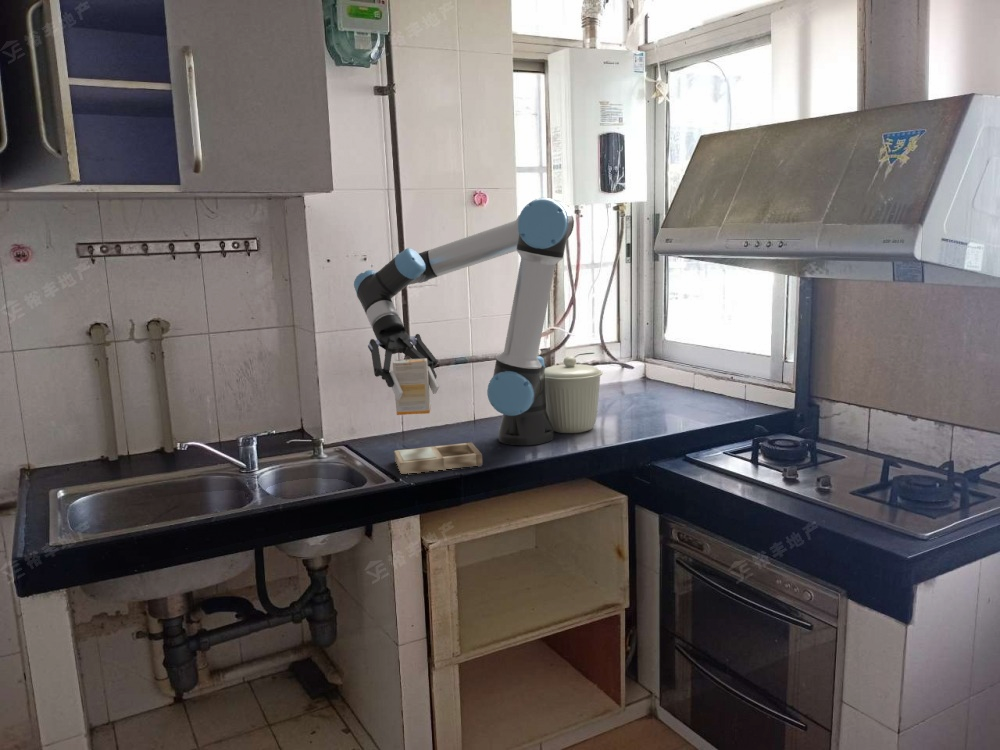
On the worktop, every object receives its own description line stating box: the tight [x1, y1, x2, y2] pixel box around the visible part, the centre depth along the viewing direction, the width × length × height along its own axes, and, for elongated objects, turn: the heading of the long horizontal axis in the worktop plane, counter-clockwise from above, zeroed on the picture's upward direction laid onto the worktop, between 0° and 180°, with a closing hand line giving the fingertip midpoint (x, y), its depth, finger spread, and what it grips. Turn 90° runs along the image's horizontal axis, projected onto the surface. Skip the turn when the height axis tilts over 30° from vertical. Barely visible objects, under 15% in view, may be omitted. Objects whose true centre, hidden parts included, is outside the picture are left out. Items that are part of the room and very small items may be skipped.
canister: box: [545, 355, 603, 434], centre depth 226 cm, size 18×18×21 cm
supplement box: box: [392, 358, 431, 416], centre depth 195 cm, size 8×5×13 cm, turn 91°
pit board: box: [394, 442, 483, 475], centre depth 198 cm, size 20×12×3 cm, turn 104°
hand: (418, 393), depth 192 cm, fingers closed on supplement box, 9 cm apart
